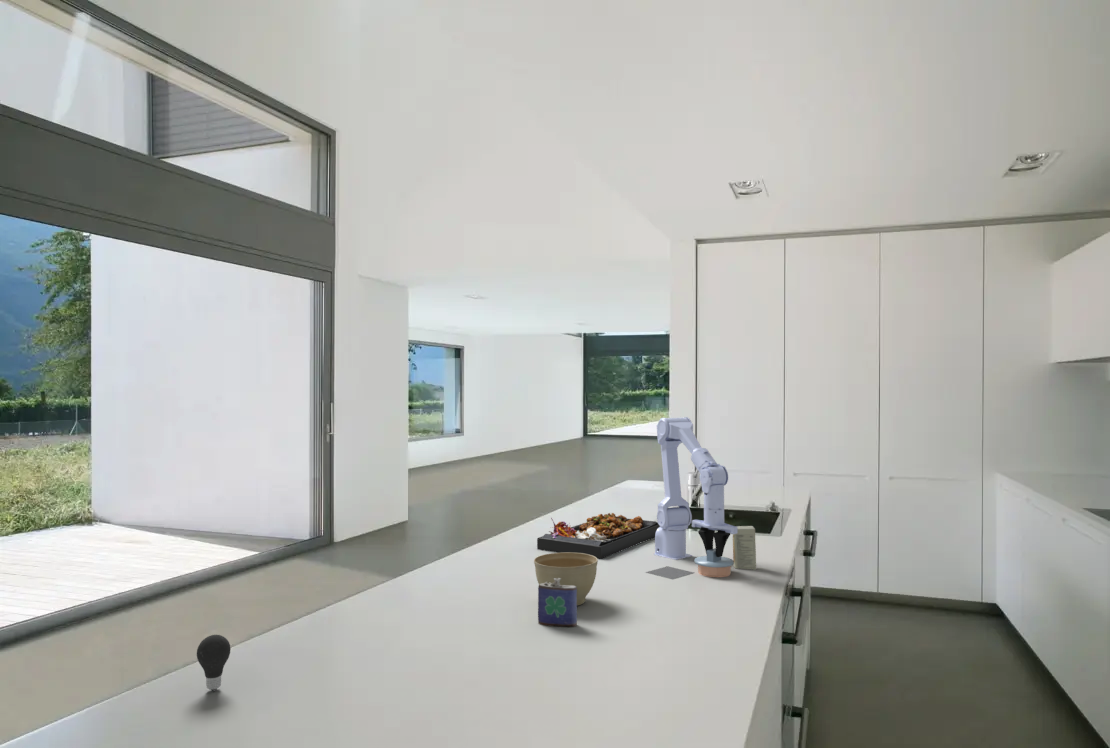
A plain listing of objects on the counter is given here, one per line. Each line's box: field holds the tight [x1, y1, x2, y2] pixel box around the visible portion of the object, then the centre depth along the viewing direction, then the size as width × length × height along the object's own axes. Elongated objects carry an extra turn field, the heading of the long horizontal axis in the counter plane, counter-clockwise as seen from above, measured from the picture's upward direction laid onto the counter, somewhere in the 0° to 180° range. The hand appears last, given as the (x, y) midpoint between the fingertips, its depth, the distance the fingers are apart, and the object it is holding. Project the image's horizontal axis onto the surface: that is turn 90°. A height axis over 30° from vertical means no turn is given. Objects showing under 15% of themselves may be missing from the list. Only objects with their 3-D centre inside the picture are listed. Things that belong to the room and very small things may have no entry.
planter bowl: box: [533, 552, 599, 606], centre depth 185 cm, size 16×16×11 cm
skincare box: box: [732, 525, 757, 571], centre depth 217 cm, size 6×4×12 cm
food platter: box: [536, 512, 660, 560], centre depth 254 cm, size 45×25×10 cm, turn 146°
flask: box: [537, 578, 578, 628], centre depth 168 cm, size 9×3×11 cm, turn 74°
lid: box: [694, 547, 734, 567], centre depth 210 cm, size 11×11×4 cm
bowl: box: [697, 564, 732, 578], centre depth 210 cm, size 9×9×3 cm
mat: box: [644, 566, 695, 580], centre depth 211 cm, size 10×10×1 cm
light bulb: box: [196, 634, 231, 692], centre depth 133 cm, size 6×6×10 cm
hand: (714, 555), depth 210 cm, fingers open, 3 cm apart
